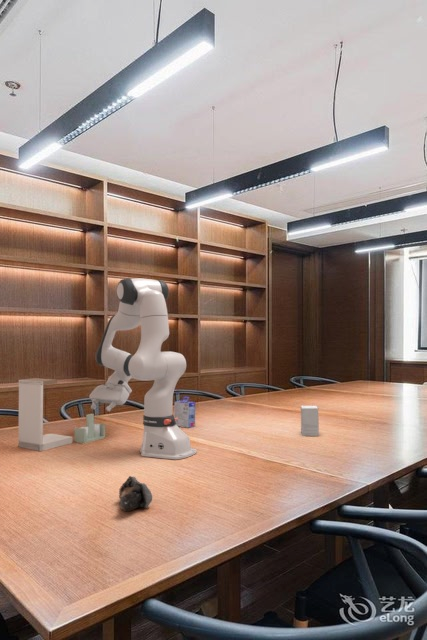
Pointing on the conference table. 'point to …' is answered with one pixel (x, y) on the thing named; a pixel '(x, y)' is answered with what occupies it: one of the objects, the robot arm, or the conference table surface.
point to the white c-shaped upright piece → (35, 417)
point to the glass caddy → (90, 431)
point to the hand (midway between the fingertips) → (99, 409)
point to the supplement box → (309, 421)
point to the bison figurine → (134, 495)
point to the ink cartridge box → (184, 413)
